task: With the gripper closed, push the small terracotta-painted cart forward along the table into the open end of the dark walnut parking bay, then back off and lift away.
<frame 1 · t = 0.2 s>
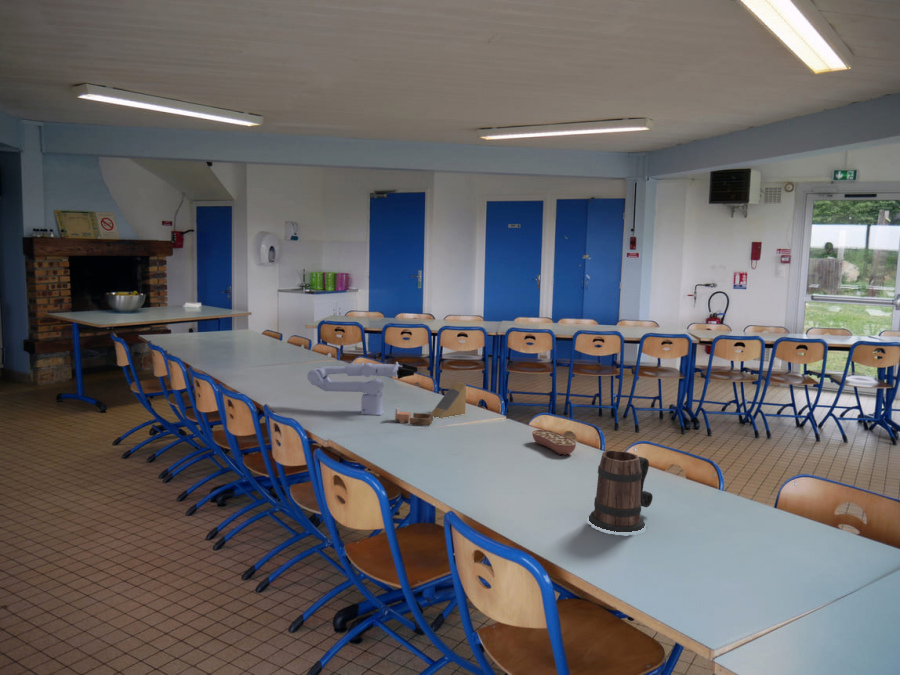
hand: (415, 371, 297), 21 cm above the table, tool horizontal, fingers open, 7 cm apart
cart: (402, 421, 289), on the table
bay: (421, 422, 288), on the table
brown bread loaf: (553, 449, 254), on the table
tankard: (623, 521, 185), on the table
sandwich container: (446, 415, 304), on the table
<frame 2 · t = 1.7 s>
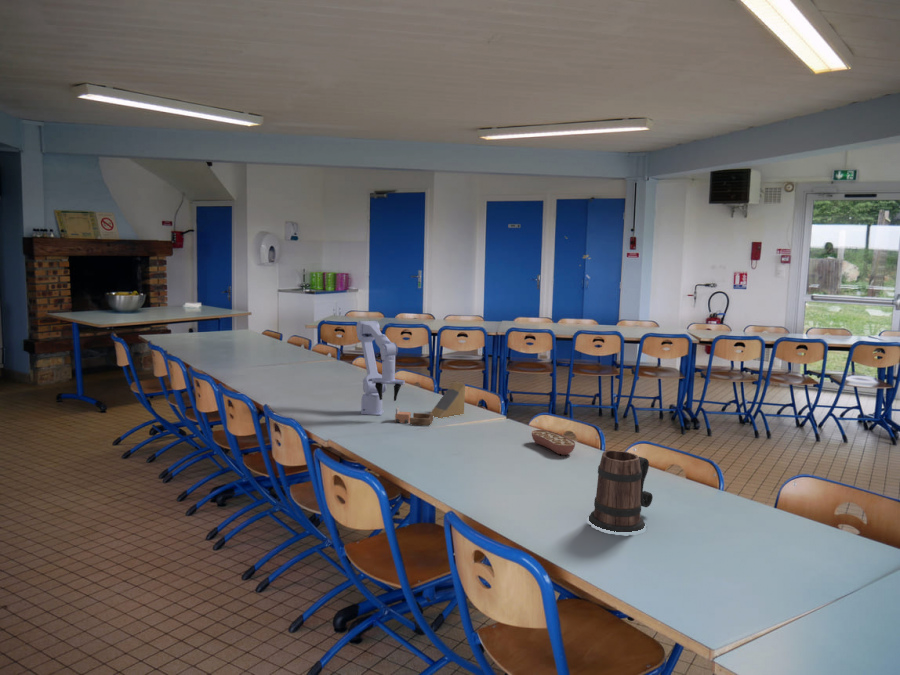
hand: (388, 400, 289), 9 cm above the table, tool pointing down, fingers open, 6 cm apart
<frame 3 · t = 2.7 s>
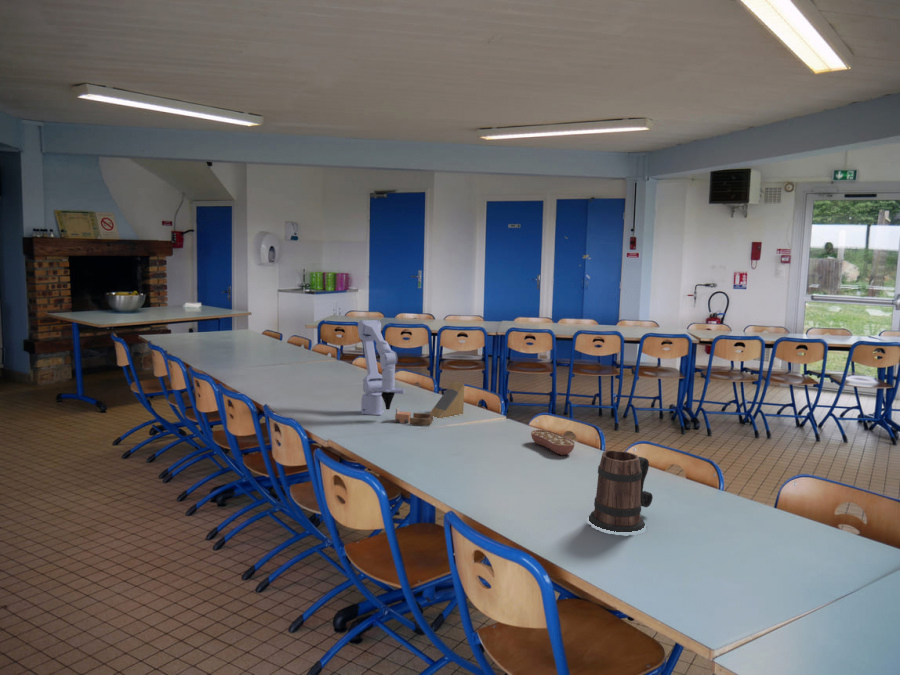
hand: (387, 408, 289), 5 cm above the table, tool pointing down, fingers closed
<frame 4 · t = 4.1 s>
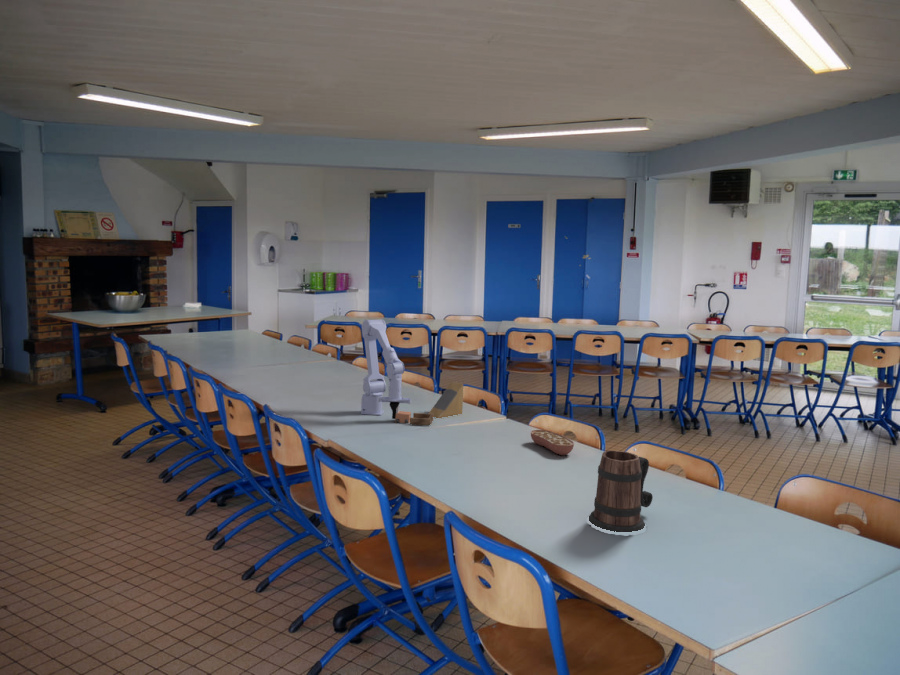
hand: (394, 418, 289), 1 cm above the table, tool pointing down, fingers closed, pressing on cart
cart: (402, 421, 289), on the table, touching gripper
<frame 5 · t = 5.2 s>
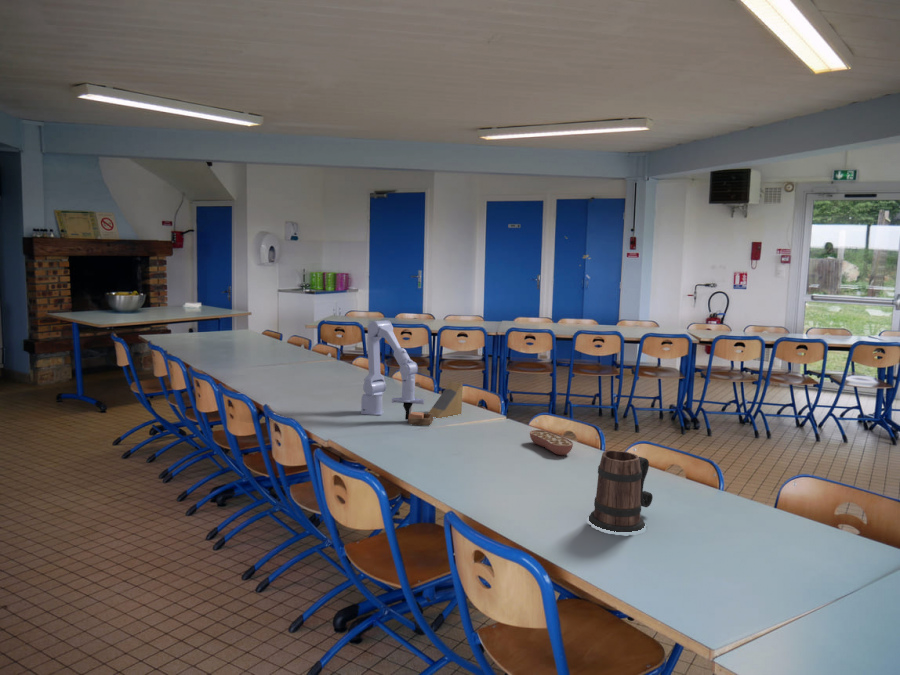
hand: (407, 419, 288), 1 cm above the table, tool pointing down, fingers closed, pressing on cart
cart: (415, 422, 288), on the table, touching gripper
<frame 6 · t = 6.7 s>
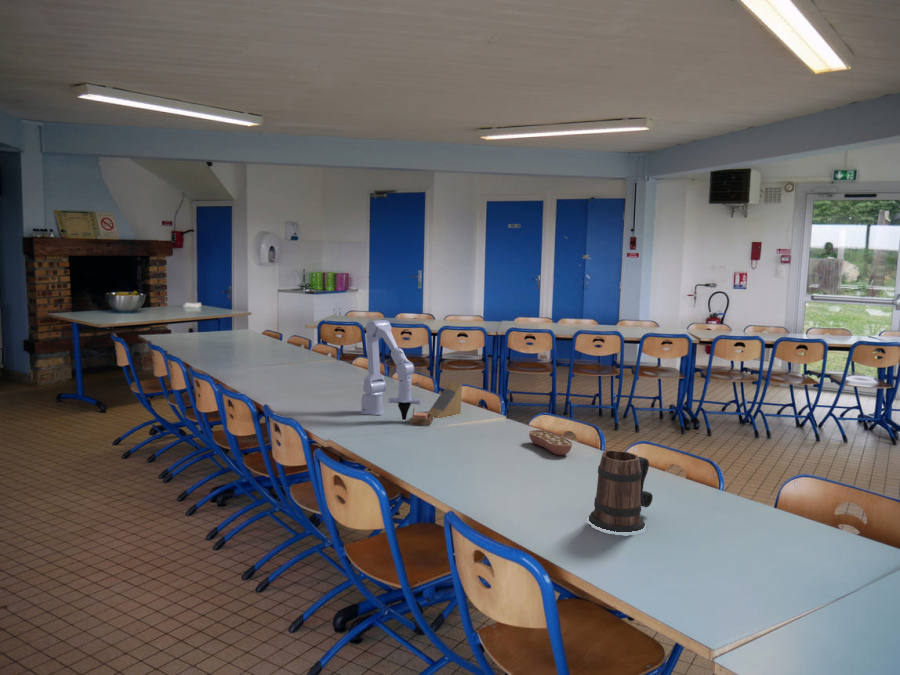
hand: (404, 419, 289), 1 cm above the table, tool pointing down, fingers closed
cart: (419, 422, 288), on the table
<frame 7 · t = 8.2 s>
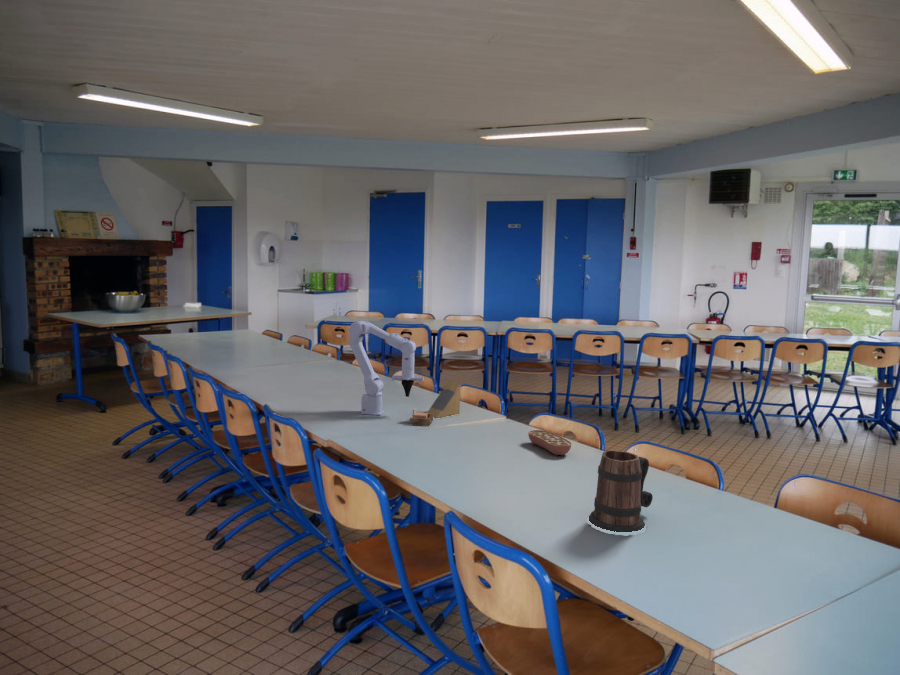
hand: (407, 396, 298), 9 cm above the table, tool pointing down, fingers closed
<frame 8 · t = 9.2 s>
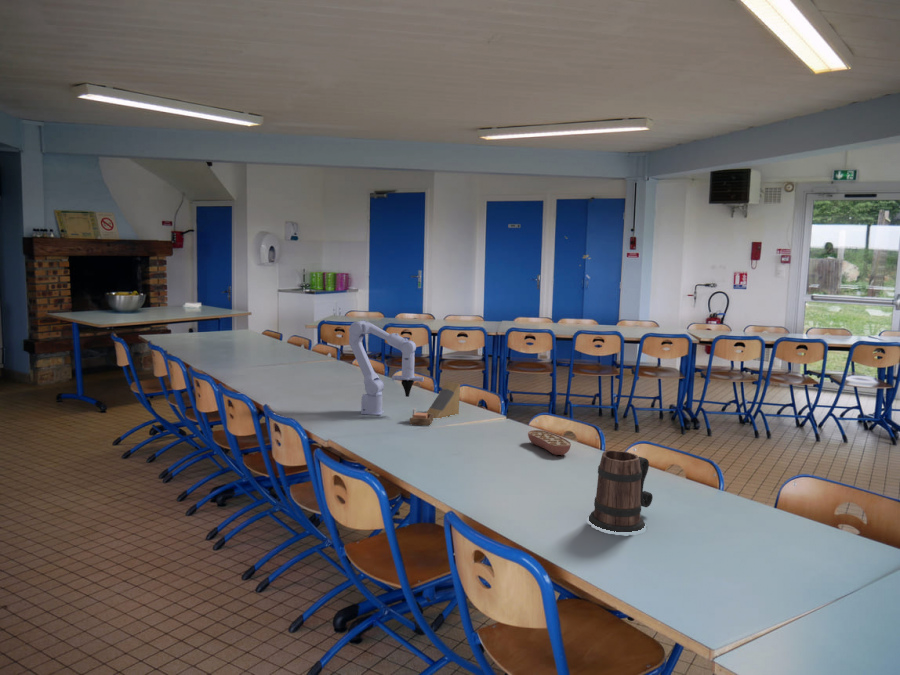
hand: (407, 396, 298), 9 cm above the table, tool pointing down, fingers closed
at the end: cart 1.1 cm off-centre on the bay, point 0.0 cm above the bay's base; cart tilted 0°; cart touching table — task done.
